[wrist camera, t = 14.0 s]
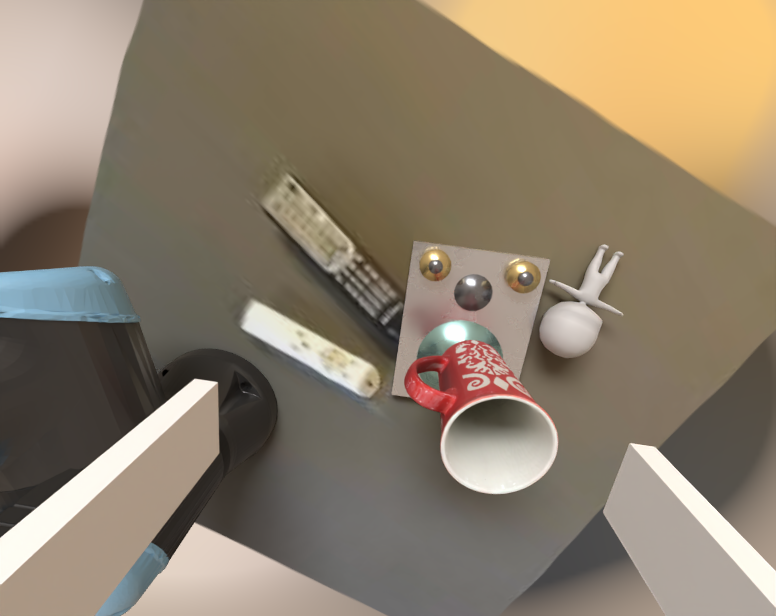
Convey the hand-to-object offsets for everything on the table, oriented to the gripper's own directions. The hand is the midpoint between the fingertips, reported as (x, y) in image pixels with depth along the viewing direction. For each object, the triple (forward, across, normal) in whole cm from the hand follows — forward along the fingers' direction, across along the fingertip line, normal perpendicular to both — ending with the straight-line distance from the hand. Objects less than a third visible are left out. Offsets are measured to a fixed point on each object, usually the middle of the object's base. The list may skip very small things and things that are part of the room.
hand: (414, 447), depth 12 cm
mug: (+28, +6, -9) cm, 30 cm away
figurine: (+29, +20, +5) cm, 35 cm away
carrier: (+29, +6, -6) cm, 30 cm away
